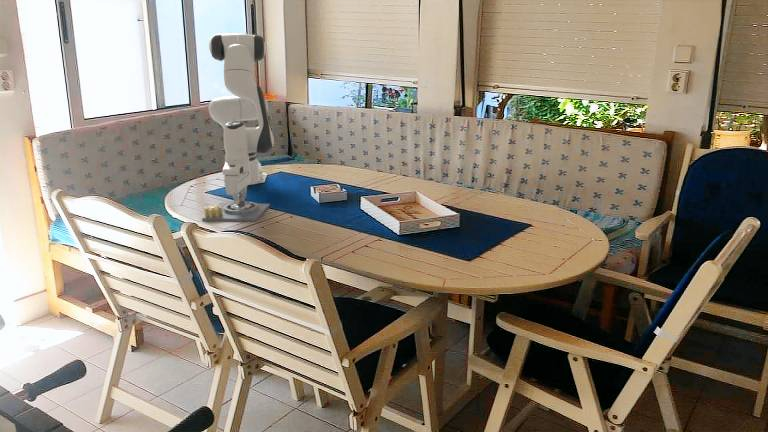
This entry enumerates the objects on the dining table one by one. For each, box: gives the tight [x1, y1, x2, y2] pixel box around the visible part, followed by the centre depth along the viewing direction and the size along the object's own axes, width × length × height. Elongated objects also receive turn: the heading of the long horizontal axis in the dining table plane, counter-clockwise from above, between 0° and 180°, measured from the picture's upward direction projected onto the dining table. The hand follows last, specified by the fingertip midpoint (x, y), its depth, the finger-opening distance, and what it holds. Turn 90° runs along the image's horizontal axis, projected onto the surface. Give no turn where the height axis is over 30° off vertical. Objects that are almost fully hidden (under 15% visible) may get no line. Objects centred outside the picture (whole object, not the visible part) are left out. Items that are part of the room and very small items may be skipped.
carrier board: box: [201, 201, 271, 223], centre depth 241 cm, size 20×20×4 cm
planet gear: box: [230, 193, 252, 210], centre depth 242 cm, size 8×8×6 cm
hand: (240, 200), depth 242 cm, fingers open, 6 cm apart
